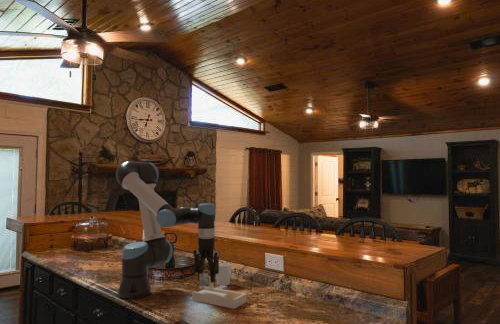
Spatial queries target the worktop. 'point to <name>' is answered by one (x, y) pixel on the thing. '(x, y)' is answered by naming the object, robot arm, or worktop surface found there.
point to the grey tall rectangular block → (222, 287)
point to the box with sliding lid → (220, 297)
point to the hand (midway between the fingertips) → (206, 288)
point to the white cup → (224, 274)
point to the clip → (204, 280)
